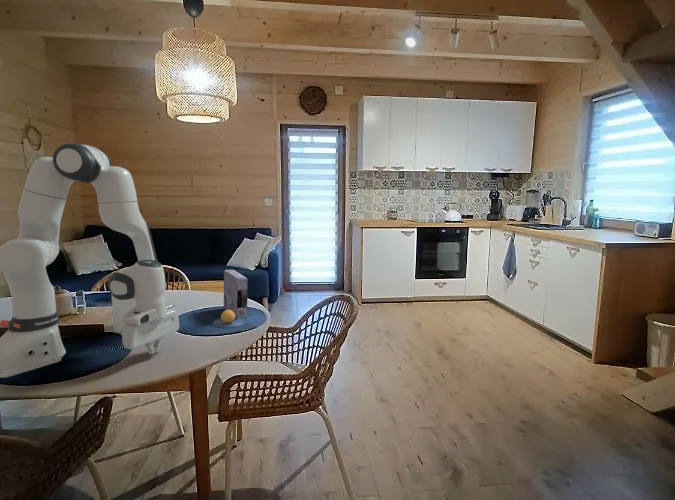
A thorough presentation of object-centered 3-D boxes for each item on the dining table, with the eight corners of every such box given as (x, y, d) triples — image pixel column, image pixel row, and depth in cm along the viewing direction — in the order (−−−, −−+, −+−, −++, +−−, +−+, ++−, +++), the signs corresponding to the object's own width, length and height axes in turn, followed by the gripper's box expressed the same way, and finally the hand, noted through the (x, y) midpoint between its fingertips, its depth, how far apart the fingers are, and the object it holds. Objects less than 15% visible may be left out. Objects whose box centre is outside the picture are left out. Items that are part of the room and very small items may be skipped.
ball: (229, 314, 167) (237, 309, 172) (217, 311, 169) (226, 306, 174) (229, 327, 169) (238, 321, 174) (218, 324, 171) (226, 318, 176)
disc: (232, 329, 164) (232, 329, 164) (205, 325, 169) (205, 324, 169) (251, 320, 176) (251, 319, 176) (225, 316, 181) (225, 315, 181)
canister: (108, 327, 165) (105, 276, 162) (144, 319, 174) (141, 271, 171) (121, 336, 155) (117, 282, 152) (158, 327, 165) (155, 277, 162)
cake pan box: (248, 318, 178) (248, 277, 176) (237, 320, 176) (236, 278, 173) (233, 306, 194) (233, 268, 192) (223, 308, 192) (222, 269, 189)
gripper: (168, 301, 146) (170, 340, 148) (117, 318, 127) (120, 362, 129) (183, 304, 143) (184, 343, 146) (133, 321, 125) (135, 366, 127)
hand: (153, 352), depth 137 cm, fingers closed
